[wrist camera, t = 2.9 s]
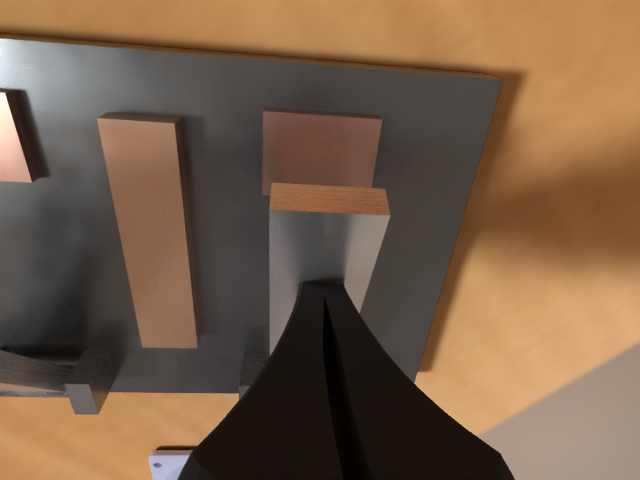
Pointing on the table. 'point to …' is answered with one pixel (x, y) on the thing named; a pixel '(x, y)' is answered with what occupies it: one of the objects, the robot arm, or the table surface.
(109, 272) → the plate
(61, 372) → the bar
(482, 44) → the table surface
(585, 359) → the table surface
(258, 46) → the table surface
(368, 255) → the bar
